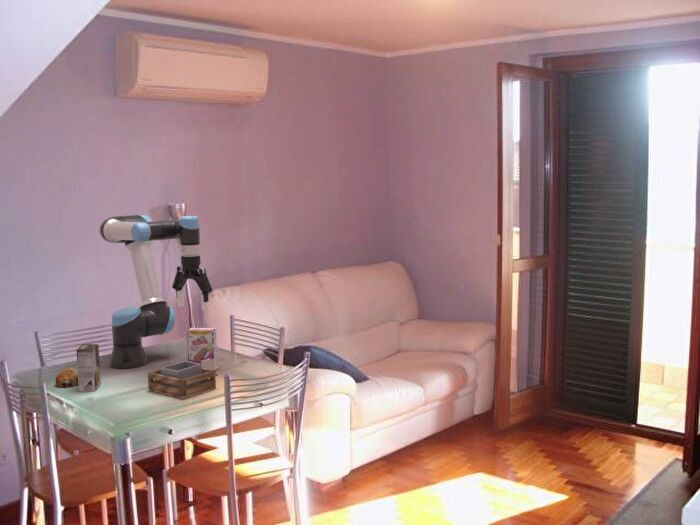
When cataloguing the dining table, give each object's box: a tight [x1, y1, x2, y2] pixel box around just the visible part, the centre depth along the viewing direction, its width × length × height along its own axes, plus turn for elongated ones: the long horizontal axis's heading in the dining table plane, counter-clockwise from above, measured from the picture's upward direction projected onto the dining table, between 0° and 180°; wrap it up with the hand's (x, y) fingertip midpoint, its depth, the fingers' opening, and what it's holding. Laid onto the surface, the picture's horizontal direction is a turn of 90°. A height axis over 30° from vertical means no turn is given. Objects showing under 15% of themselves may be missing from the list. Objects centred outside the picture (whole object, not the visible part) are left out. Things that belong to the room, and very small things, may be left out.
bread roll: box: [55, 367, 79, 388], centre depth 302 cm, size 10×10×8 cm
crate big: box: [147, 368, 217, 400], centre depth 293 cm, size 19×16×7 cm
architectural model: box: [201, 358, 219, 377], centre depth 311 cm, size 3×7×7 cm, turn 115°
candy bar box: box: [186, 327, 218, 367], centre depth 322 cm, size 11×5×16 cm, turn 84°
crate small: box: [160, 360, 202, 389], centre depth 292 cm, size 9×12×8 cm
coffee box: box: [76, 343, 102, 393], centre depth 295 cm, size 9×6×16 cm
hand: (192, 308), depth 311 cm, fingers open, 13 cm apart
